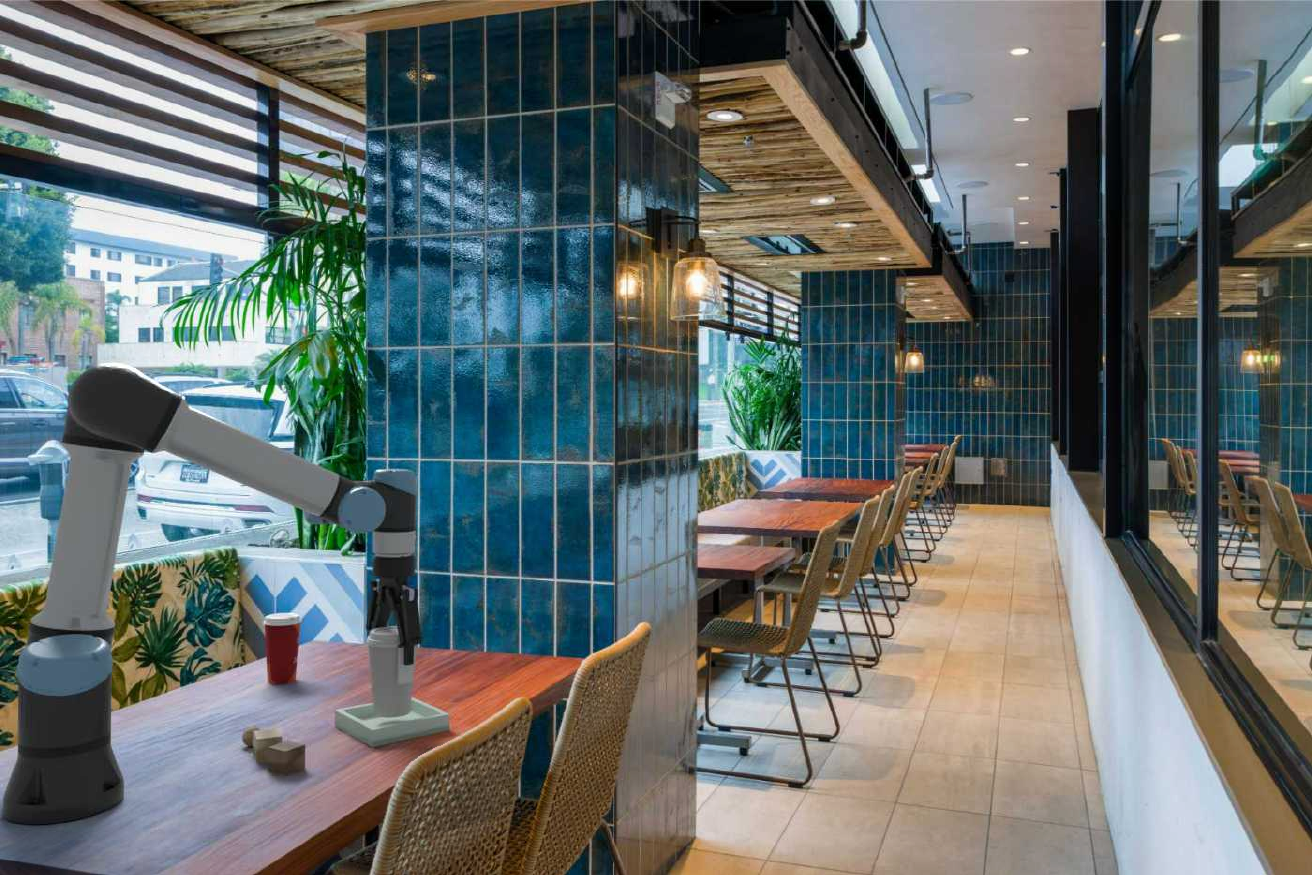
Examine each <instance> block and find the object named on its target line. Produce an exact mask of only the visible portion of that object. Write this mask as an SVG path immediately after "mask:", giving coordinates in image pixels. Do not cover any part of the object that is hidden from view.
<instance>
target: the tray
mask: <svg viewBox="0 0 1312 875" xmlns="http://www.w3.org/2000/svg"><path fill="white" fill-rule="evenodd" d="M450 716H451V715H450V713H448V712H446V711H444V710H442V709H440V708H437V707H435V706H433V705H431V704H429V703H426V702H424V701H422V700H419V699H418V698H415V697H413V696H412V699H411V709H410V713H409V714H407V715H404V716H400V717H392V718H385V717H378V716H375V715H374V713H373V702H370V703H365V704H364V703H363V704H360V705H356V706H349V707H348V706H347V707H345V708H344V707H343V708H339V709H338V708H337V709H335V710H334V727H335V728H337V729H339V730H341V731H343V732H344V733H346V734H348V735H350V736H351V737H353V738H355V739H357V740H358V741H360V742H362V743H364V744H366V745H367V746H369V747H371V748H375V747H381V746H386V745H390V744H394V743H398V742H402V741H406V740H411V739H416V738H421V737H425V736H430V735H434V734H439V733H442V732H448V731H450V720H451V719H450V718H451V717H450Z"/></svg>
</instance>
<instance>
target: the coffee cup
mask: <svg viewBox="0 0 1312 875" xmlns="http://www.w3.org/2000/svg"><path fill="white" fill-rule="evenodd" d="M399 644H401V642H400V638H399V633H398V628H397V625H389V626H388V625H387V627H380V628H376V629H373V630H371V632H370V631H369V635H368V636H367V638H366V640H365V645H366V646H368V656H369V657H368V658H369V667H370V668H369V670H370V683H371V696H372V703H373V713H374V715H375V716H378V717H385V718H392V717H400V716H404V715H407V714H409V713H410V709H411V699H412V697H413V687H414V682H409V683H403V684H398V645H399ZM417 647H418V645H416V646H414V670H415V668H416V657H417Z"/></svg>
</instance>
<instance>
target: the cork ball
mask: <svg viewBox="0 0 1312 875" xmlns="http://www.w3.org/2000/svg"><path fill="white" fill-rule="evenodd" d="M256 730H261V729H260V728H258V727H257V726H250V727H248V728H246V729H245V730H244V731H243V733H242V736H241V740H242V742H243V744H244V745H245V746H248V747H253V731H256Z"/></svg>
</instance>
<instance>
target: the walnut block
mask: <svg viewBox="0 0 1312 875" xmlns="http://www.w3.org/2000/svg"><path fill="white" fill-rule="evenodd" d="M305 769H306V743H305V744H304V743H301V742H297V741H292V740H289V739H288V740H284V741H282V742H281V743H278V744H275V745H273V746H270V747H268V762H267V772H268V773H271V774H276V775H279V776H284V777H288V776H289V775H292V774H294V773H298V772H301V771H302V770H305Z"/></svg>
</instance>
